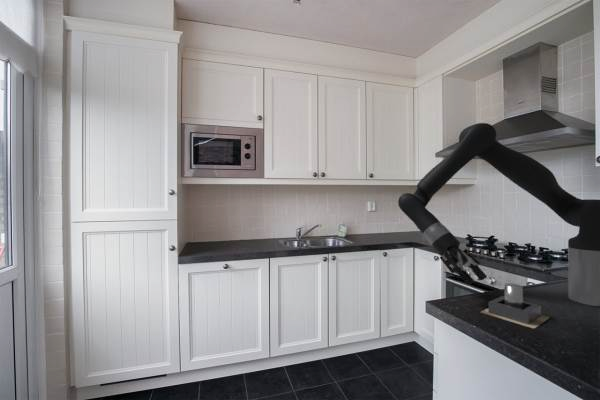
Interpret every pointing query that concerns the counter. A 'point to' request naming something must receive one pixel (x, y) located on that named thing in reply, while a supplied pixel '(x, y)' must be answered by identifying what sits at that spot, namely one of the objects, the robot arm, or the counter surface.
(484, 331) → the counter surface
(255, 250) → the counter surface
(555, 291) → the counter surface
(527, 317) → the sleeve
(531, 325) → the board
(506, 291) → the cylinder
